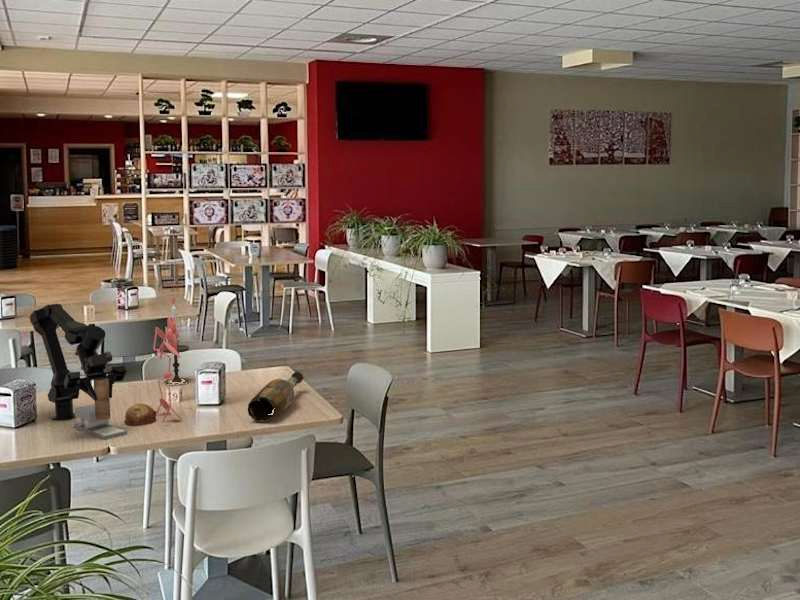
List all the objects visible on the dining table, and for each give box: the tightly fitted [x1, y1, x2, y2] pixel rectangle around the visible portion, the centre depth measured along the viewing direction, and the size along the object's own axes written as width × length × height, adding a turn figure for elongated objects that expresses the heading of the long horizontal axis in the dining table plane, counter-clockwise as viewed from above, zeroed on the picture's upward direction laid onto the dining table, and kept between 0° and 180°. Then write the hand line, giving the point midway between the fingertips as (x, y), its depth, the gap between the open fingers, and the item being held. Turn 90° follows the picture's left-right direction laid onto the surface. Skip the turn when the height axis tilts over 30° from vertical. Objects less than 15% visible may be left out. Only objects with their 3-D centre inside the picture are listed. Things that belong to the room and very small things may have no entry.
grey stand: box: [72, 403, 128, 441], centre depth 280 cm, size 20×8×6 cm, turn 47°
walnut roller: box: [93, 378, 111, 420], centre depth 273 cm, size 4×4×12 cm
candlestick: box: [160, 296, 190, 385], centre depth 343 cm, size 11×11×35 cm
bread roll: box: [123, 403, 157, 427], centre depth 291 cm, size 10×10×8 cm
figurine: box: [152, 315, 197, 427], centre depth 295 cm, size 15×26×35 cm, turn 30°
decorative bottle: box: [247, 371, 304, 424], centre depth 309 cm, size 11×11×45 cm
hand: (103, 398), depth 272 cm, fingers closed on walnut roller, 4 cm apart
